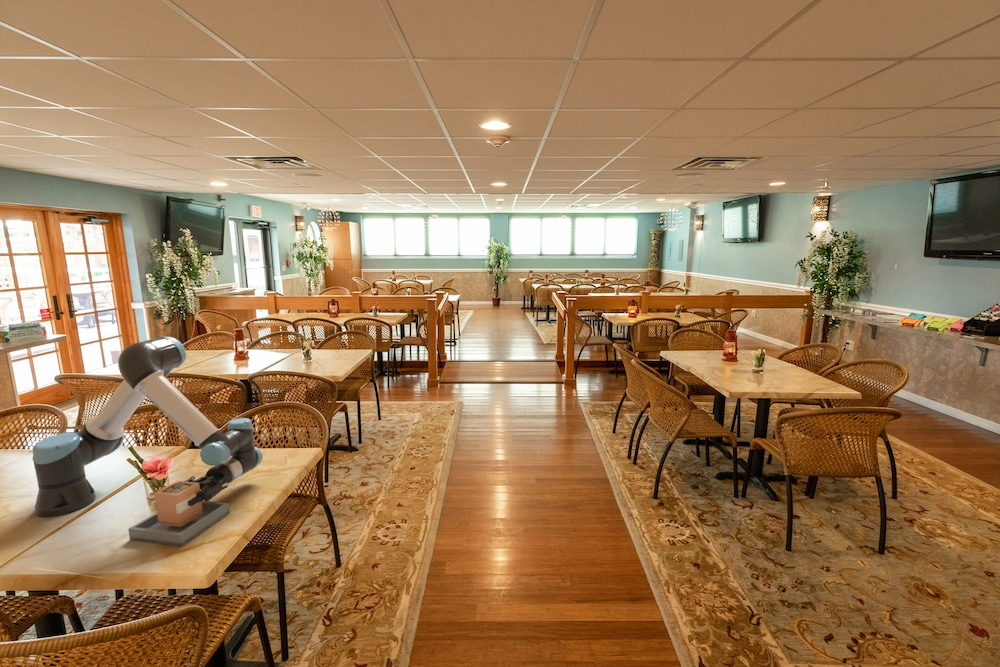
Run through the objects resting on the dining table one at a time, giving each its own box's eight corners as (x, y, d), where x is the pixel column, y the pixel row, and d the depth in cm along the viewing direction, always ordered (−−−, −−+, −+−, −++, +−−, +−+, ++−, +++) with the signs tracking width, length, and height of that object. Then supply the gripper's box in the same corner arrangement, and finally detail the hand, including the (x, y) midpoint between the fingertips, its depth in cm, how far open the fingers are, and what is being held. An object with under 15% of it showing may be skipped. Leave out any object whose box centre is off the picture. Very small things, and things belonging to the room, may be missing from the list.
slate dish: (130, 539, 139) (128, 528, 138) (182, 508, 156) (180, 498, 156) (182, 546, 135) (180, 535, 135) (229, 513, 153) (228, 503, 152)
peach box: (158, 524, 142) (153, 489, 141) (181, 510, 150) (176, 477, 148) (181, 526, 141) (176, 492, 139) (202, 512, 148) (198, 479, 147)
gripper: (251, 486, 160) (196, 523, 138) (199, 481, 164) (137, 516, 142) (249, 465, 159) (193, 499, 137) (196, 461, 163) (133, 493, 141)
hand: (164, 507), depth 140 cm, fingers closed on peach box, 8 cm apart
